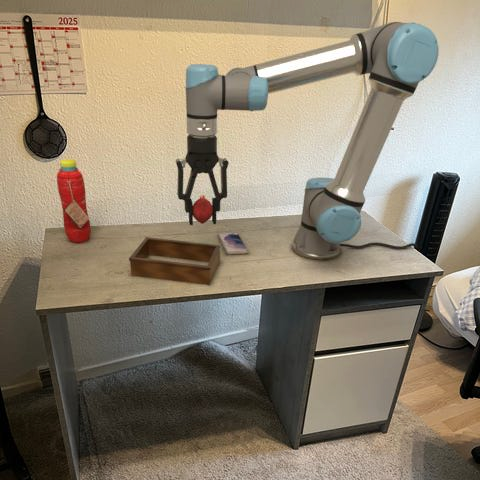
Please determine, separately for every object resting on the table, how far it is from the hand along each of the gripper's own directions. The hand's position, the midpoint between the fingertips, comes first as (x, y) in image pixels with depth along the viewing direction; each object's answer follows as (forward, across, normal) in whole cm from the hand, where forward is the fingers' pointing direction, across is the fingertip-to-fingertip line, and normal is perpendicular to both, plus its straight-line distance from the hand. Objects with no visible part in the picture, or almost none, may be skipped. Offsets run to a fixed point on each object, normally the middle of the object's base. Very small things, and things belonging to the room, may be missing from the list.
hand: (202, 222), depth 130 cm
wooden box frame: (+14, -8, +1) cm, 16 cm away
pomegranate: (0, 0, 0) cm, 0 cm away
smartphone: (+15, +12, +16) cm, 25 cm away
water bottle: (+14, -36, +23) cm, 45 cm away
